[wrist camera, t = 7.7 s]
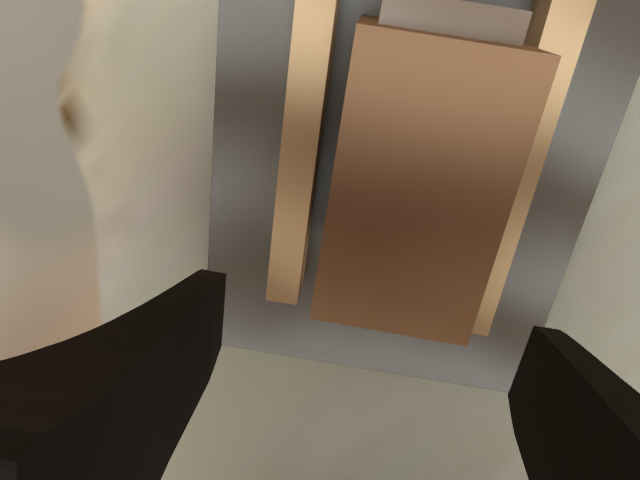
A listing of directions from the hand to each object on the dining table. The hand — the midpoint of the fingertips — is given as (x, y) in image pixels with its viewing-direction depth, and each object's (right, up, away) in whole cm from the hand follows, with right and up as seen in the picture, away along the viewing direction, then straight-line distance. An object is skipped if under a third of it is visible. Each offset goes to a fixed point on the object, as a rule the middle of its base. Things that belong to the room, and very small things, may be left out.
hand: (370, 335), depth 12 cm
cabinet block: (+2, +6, +7) cm, 9 cm away
